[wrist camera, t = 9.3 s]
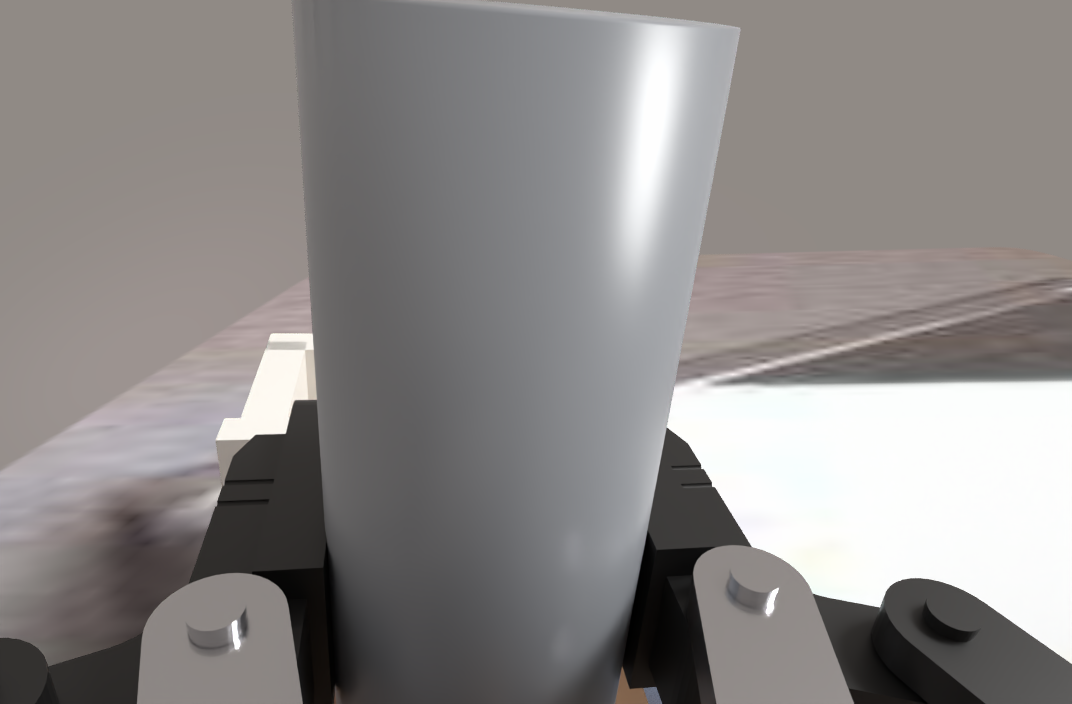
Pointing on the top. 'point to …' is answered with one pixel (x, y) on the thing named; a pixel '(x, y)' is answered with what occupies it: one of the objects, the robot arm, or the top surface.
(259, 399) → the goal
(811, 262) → the top surface
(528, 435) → the grey tall cylindrical piece
